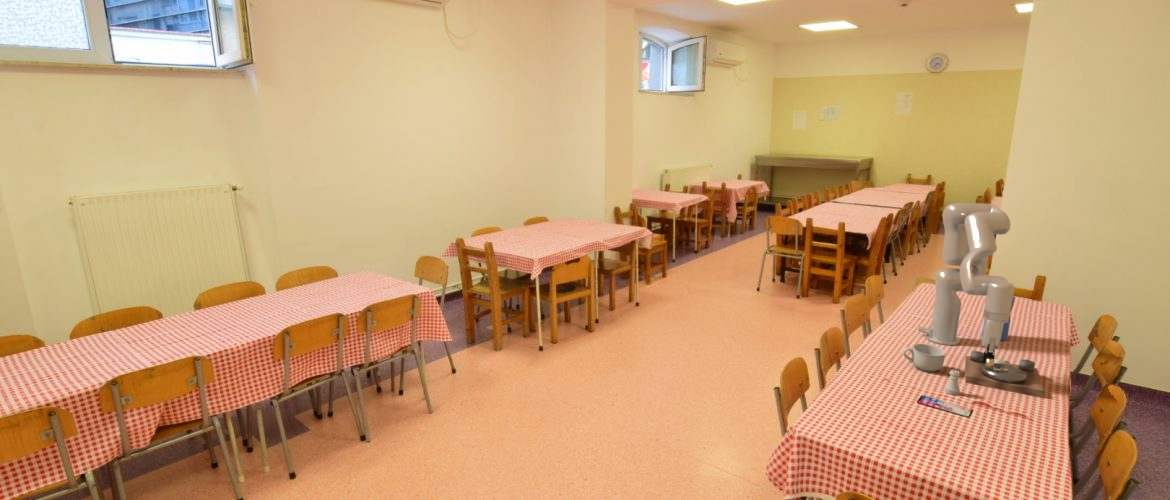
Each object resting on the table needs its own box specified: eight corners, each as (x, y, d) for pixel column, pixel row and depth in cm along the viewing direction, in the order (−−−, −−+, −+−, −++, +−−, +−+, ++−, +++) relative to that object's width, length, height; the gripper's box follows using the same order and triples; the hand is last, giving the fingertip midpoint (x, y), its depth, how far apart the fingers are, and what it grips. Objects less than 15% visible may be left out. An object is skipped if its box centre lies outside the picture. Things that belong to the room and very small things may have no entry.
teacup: (940, 365, 219) (943, 346, 217) (944, 376, 209) (947, 356, 208) (899, 359, 225) (902, 340, 223) (901, 370, 215) (904, 350, 213)
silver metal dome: (993, 382, 198) (996, 366, 197) (973, 367, 211) (976, 351, 210) (1034, 384, 197) (1037, 368, 196) (1011, 368, 209) (1014, 353, 208)
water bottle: (984, 339, 246) (993, 283, 240) (979, 332, 254) (987, 278, 249) (1010, 342, 242) (1020, 286, 237) (1004, 335, 251) (1013, 280, 245)
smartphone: (969, 417, 179) (915, 402, 189) (969, 419, 180) (915, 404, 189) (973, 408, 185) (921, 394, 195) (973, 410, 185) (921, 396, 195)
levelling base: (965, 382, 205) (967, 368, 203) (965, 361, 223) (967, 348, 221) (1043, 397, 193) (1045, 382, 192) (1035, 374, 211) (1038, 360, 210)
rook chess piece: (954, 396, 194) (958, 374, 192) (941, 391, 198) (944, 369, 196) (962, 393, 196) (965, 372, 194) (949, 388, 200) (952, 367, 198)
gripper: (983, 307, 211) (975, 354, 215) (983, 319, 199) (975, 368, 203) (1008, 311, 207) (1000, 358, 211) (1009, 323, 195) (1000, 373, 199)
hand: (987, 363), depth 207 cm, fingers closed
